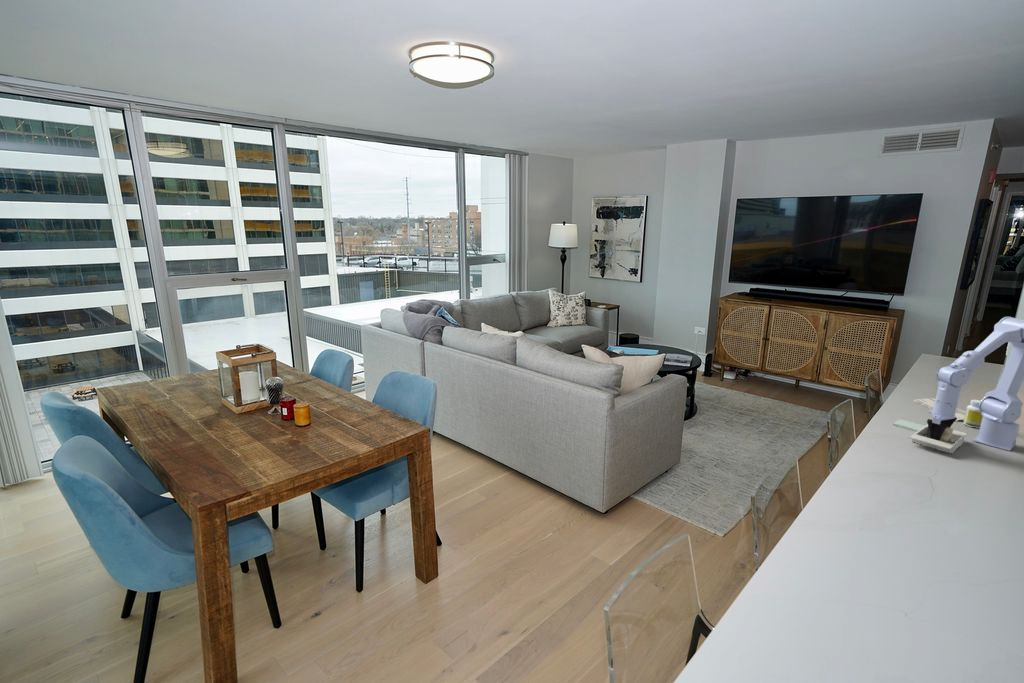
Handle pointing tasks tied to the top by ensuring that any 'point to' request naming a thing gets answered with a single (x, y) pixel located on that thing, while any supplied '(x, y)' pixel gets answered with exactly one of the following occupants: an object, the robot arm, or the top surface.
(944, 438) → the block
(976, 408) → the supplement bottle
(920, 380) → the top surface
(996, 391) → the robot arm
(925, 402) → the newspaper
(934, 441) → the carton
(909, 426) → the tile
